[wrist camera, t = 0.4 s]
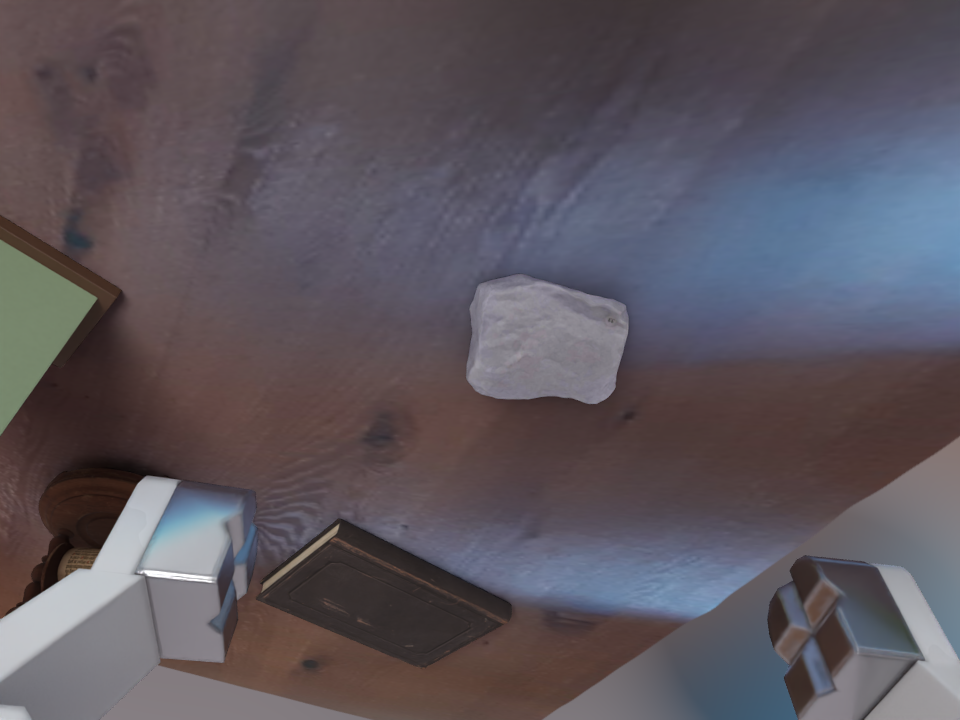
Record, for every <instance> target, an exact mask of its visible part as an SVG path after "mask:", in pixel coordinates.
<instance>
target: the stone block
mask: <svg viewBox="0 0 960 720" xmlns="http://www.w3.org/2000/svg"><path fill="white" fill-rule="evenodd" d="M469 310H470V315H471V326H472V337H471V344H470V349H469V356H468V362H467V373H466V379H467V380H468V382H469V383H470V384H471V385H472V386H473V388H474V389H475V391H477V392H479V393H480V394H482V395H486V396H491V397H494V398H496V399H533V398H538V397H545V396H558V397H562V398H574V399H576V400H579V401H582V402H584V403H588V404H597V403H599V402H601V401H603V400H605V399H606V398H608V397H609V396H610V394H611V393H612V392H613V391H614V389H615V387H616V385H615V382H616V374H617V370H618V367H619V364H620V360H621V357H622V355H623V350H624V345H625V342H626V339H627V335H628V327H629V317H628V314H627V311H626V305H624V304H623V303H620V302H618V301H615V300H613V299H606V298H603V297H600V296H593V295H589V294H586V293H583V292H582V291H578V290H576V289H569V288H568V287H566V286H563V285H559V284H555V283H552V282H549V281H545V280H540V279H535V278H533V277H531V276H528V275H525V274H514V275H511V276H508V277H504V278H499V279H494V280H490V281H486V282H484V283H481V284H479V285H478V287H477V289H476V293H475V296H474V299H473V301H472V303H471V306H470V308H469Z"/></svg>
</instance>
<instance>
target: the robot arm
mask: <svg viewBox="0 0 960 720" xmlns="http://www.w3.org/2000/svg"><path fill="white" fill-rule="evenodd" d="M256 509H257V502H256V492H255V491H253V490H249V489H242V488H235V487H228V486H221V485H214V484H208V483H201V482H194V481H187V480H177V479H170V478H163V477H155V476H148V475H147V476H146V477H144V478H143V479H142V480H141V481H140V482H139V483H138V484H137V486H136V488H135V489H134V491H133V493H132V495H131V497H130V498H129V500H128V502H127V504H126V506H125V507H124V509H123V511H122V513H121V515H120V516H119V518H118V520H117V522H116V524H115V525H114V527H113V529H112V531H111V533H110V534H109V536H108V538H107V540H106V542H105V543H104V545H103V547H102V549H101V551H100V552H99V554H98V556H97V558H96V560H95V561H94V563H93V565H92V567H91V569H80V568H79V569H77V570H76V571H74V572H73V573H71V574H69V575H68V576H66V577H65V578H63V579H62V580H60V581H59V582H57V583H56V584H54V585H53V586H51V587H50V588H48V589H46V590H45V591H43V592H42V593H40V594H39V595H37V596H36V597H34V598H33V599H31V600H30V601H28V602H26V603H25V604H23V605H22V606H20V607H19V608H17V609H16V610H14V611H13V612H11V613H10V614H8V615H7V616H5V617H3V618H2V619H0V720H100V719H101V718H102V717H103V716H104V715H105V714H106V713H107V712H108V711H109V710H111V708H113V707H114V706H115V705H116V704H117V703H118V702H119V701H120V700H121V699H122V698H123V697H124V696H125V695H126V694H127V693H128V692H129V691H130V690H132V689H133V688H134V687H135V686H136V685H137V684H138V683H139V682H140V681H141V680H142V679H143V678H144V677H145V676H146V675H147V674H148V673H149V672H150V671H152V670H153V669H154V668H155V667H156V666H157V665H158V664H159V663H160V658H166V659H180V660H193V661H207V662H220V663H224V660H225V657H226V654H227V651H228V648H229V645H230V642H231V639H232V636H233V633H234V630H235V627H236V624H237V621H238V612H237V600H238V599H239V598H241V597H242V596H243V595H244V594H246V593H247V591H248V588H249V584H250V581H251V578H252V575H253V570H254V565H255V560H256V556H257V546H258V528H257V527H256V526H255V525H254V524H253V523H252V520H253V517H254V515H255V512H256ZM790 573H791V576H792V578H793V581H792V582H790V583H788V584H786V585H784V586H782V587H780V588H778V589H777V591H776V593H775V594H774V596H773V598H772V600H771V601H770V605H769V613H768V628H769V635H770V638H771V641H772V645H773V648H774V650H775V651H776V652H777V653H778V654H779V656H780V657H781V658H782V659H784V661H785V662H786V663H787V664H788V665H789V666H788V669H787V671H786V674H785V676H784V680H785V683H786V686H787V689H788V692H789V694H790V697H791V700H792V703H793V706H794V709H795V712H796V715H797V718H798V720H960V660H959V658H958V657H957V655H956V653H955V651H954V649H953V648H952V646H951V644H950V642H949V641H948V639H947V637H946V635H945V633H944V632H943V630H942V628H941V626H940V625H939V623H938V621H937V619H936V618H935V616H934V614H933V612H932V610H931V609H930V607H929V605H928V603H927V601H926V600H925V598H924V596H923V594H922V593H921V591H920V589H919V587H918V585H917V584H916V582H915V580H914V578H913V577H912V575H911V574H910V573H909V572H908V571H907V570H906V569H905V568H903V567H902V566H893V565H884V564H876V563H866V562H862V561H853V560H843V559H833V558H824V557H815V556H806V555H805V556H803V557H801V558H799V559H797V560H796V562H795V563H794V564H793V566H792V567H791V569H790Z"/></svg>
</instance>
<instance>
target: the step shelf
mask: <svg viewBox="0 0 960 720" xmlns="http://www.w3.org/2000/svg"><path fill="white" fill-rule="evenodd" d="M121 291H122V290H121V289H119V288H117V287H116V286H114V285H112V284H111V283H109V282H108V281H106V280H104V279H103V278H101V277H100V276H98V275H96V274H95V273H93V272H91V271H90V270H88V269H87V268H85V267H83V266H82V265H80V264H78V263H77V262H75V261H74V260H72V259H70V258H69V257H67V256H65V255H64V254H62V253H61V252H59V251H57V250H56V249H54V248H52V247H51V246H49V245H48V244H46V243H44V242H43V241H41V240H39V239H38V238H36V237H35V236H33V235H31V234H30V233H28V232H26V231H25V230H23V229H22V228H20V227H18V226H17V225H15V224H13V223H12V222H10V221H9V220H7V219H5V218H4V217H2V216H1V215H0V436H1V434H2V433H3V432H4V430H5V429H6V427H7V426H8V424H9V423H10V422H11V420H12V419H13V417H14V416H15V415H16V413H17V412H18V410H19V409H20V408H21V406H22V405H23V403H24V402H25V400H26V399H27V398H28V396H29V395H30V393H31V392H32V391H33V389H34V388H35V386H36V385H37V384H38V382H39V381H40V379H41V378H42V376H43V375H44V374H45V372H46V371H47V369H48V368H49V367H50V365H51V364H53V365H55V366H57V367H59V368H62V367H63V366H64V364H65V363H66V362H67V360H68V359H69V358H70V357H71V355H72V354H73V353H74V352H75V350H76V349H77V348H78V347H79V345H80V344H81V343H82V342H83V340H84V339H85V338H86V336H87V335H88V334H89V333H90V331H91V330H92V329H93V328H94V326H95V325H96V324H97V323H98V321H99V320H100V319H101V317H102V316H103V315H104V314H105V312H106V311H107V310H108V309H109V307H110V306H111V305H112V304H113V302H114V301H115V300H116V299H117V297H118V296H119V294H120V293H121Z"/></svg>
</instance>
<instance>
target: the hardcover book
mask: <svg viewBox="0 0 960 720" xmlns="http://www.w3.org/2000/svg"><path fill="white" fill-rule="evenodd" d="M260 583H261V584H263V589H262V592H261V593H260V594H259V595H258V596H256V598H255V599H256V600H258V601H261V602H263V603H266V604H268V605H270V606H273V607H275V608H278V609H280V610H282V611H285V612H287V613H289V614H292V615H294V616H297V617H299V618H301V619H304V620H306V621H309V622H311V623H313V624H316V625H318V626H320V627H323V628H325V629H328V630H330V631H332V632H335V633H337V634H339V635H342V636H344V637H347V638H349V639H351V640H354V641H356V642H359V643H361V644H363V645H366V646H368V647H370V648H373V649H375V650H378V651H380V652H382V653H385V654H387V655H390V656H392V657H394V658H397V659H399V660H401V661H404V662H406V663H409V664H411V665H413V666H416V667H418V668H420V669H424V668H426V667H428V666H429V665H431V664H433V663H435V662H437V661H438V660H440V659H442V658H444V657H446V656H447V655H449V654H451V653H453V652H455V651H457V650H458V649H460V648H462V647H464V646H466V645H467V644H469V643H471V642H473V641H475V640H476V639H478V638H480V637H482V636H484V635H486V634H487V633H489V632H491V631H493V630H495V629H496V628H498V627H500V626H502V625H504V624H505V623H507V622H508V621H509V620H510V618H511V613H512V609H511V604H509V603H507V602H505V601H503V600H501V599H499V598H497V597H495V596H493V595H491V594H489V593H487V592H485V591H483V590H481V589H479V588H477V587H475V586H473V585H471V584H469V583H467V582H465V581H463V580H461V579H459V578H457V577H455V576H453V575H451V574H449V573H447V572H445V571H443V570H441V569H439V568H437V567H435V566H433V565H431V564H429V563H427V562H425V561H423V560H421V559H419V558H417V557H415V556H413V555H411V554H409V553H407V552H405V551H403V550H401V549H399V548H397V547H395V546H393V545H391V544H389V543H387V542H385V541H383V540H381V539H379V538H377V537H375V536H373V535H371V534H369V533H367V532H365V531H363V530H361V529H359V528H357V527H355V526H353V525H351V524H349V523H347V522H345V521H343V520H341V519H338V520H337V521H335V522H334V523H333V524H332V525H330V526H329V527H328V528H327V529H325V530H324V531H323V532H322V533H320V534H319V535H318V536H317V537H315V538H314V539H313V540H311V541H310V542H309V543H308V544H306V545H305V546H304V547H303V548H301V549H300V550H299V551H298V552H296V553H295V554H294V555H293V556H291V557H290V558H289V559H288V560H286V561H285V562H284V563H283V564H281V565H280V566H279V567H278V568H276V569H275V570H274V571H273V572H271V573H270V574H269V575H268V576H266V577H265V578H264V579H263V580H261V581H260Z"/></svg>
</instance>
